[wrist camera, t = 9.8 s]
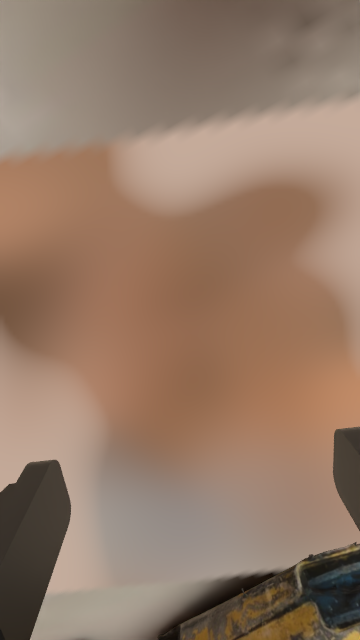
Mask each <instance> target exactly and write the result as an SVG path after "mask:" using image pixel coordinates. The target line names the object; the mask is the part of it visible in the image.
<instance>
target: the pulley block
mask: <svg viewBox="0 0 360 640" xmlns="http://www.w3.org/2000/svg"><path fill="white" fill-rule="evenodd" d="M242 592H243V593H241V594H239V595H237V596H235V597H233V598H231V599H229V600H227V601H226V602H224V603H222V604H220V605H218V606H216V607H214V608H212V609H210V610H208V611H206V612H204V613H202V614H200V615H198V616H196V617H193V618H191V619H189V620H187V621H185V622H183V623H181V624H179V625H178V626H176V627H175V628H173V629H172V630H170V631H169V632H167V633H166V634H164V635H159V636H158V639H159V640H360V544H357V545H356V542H355V543H354V544H351V545H348V546H346V547H343V548H339V549H334V550H330V551H326V552H323V553H320V554H317V555H315V556H313V555H309V557H308V558H306V559H304V560H302V561H300V562H299V563H297V564H296V565H295V566H293V567H291V568H289V569H287V570H285V571H283V572H281V573H279V574H278V575H276V576H274V577H272V578H270V579H268V580H266V581H264V582H262V583H261V584H259V585H257V586H255V587H253V588H251V589H249V590H247V591H245V592H244V591H243V588H242Z"/></svg>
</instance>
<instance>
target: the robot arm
mask: <svg viewBox="0 0 360 640" xmlns="http://www.w3.org/2000/svg"><path fill="white" fill-rule="evenodd" d="M333 475H334V481H335V485H336V488H337V491H338V493H339V496H340V498H341V499H342V501H343V503H344V505H345V506H346V508H347V510H348V511H349V513H350V515H351V517H352V518H353V520H354V522H355V524H356V525H357V527H358V529H359V531H360V427H354V428H345V429H337V430H336V431H335V434H334V462H333ZM70 515H71V504H70V498H69V495H68V491H67V488H66V484H65V481H64V477H63V475H62V471H61V467H60V464H59V462H58V461H57V460H49V461H40V462H31V463H29V464H27V465H26V467H25V469H24V470H23V472H22V474H21V475H20V477H19V479H18V480H17V482H16V483H14V484H9V485H8V486H7V487H6V488H5V489H4V490H3V491H2V492H0V640H30V638H31V635H32V632H33V629H34V626H35V623H36V620H37V617H38V614H39V611H40V608H41V605H42V602H43V599H44V596H45V593H46V590H47V587H48V584H49V581H50V578H51V576H52V573H53V569H54V566H55V564H56V561H57V558H58V555H59V552H60V549H61V546H62V543H63V540H64V537H65V534H66V531H67V528H68V525H69V521H70Z"/></svg>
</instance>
